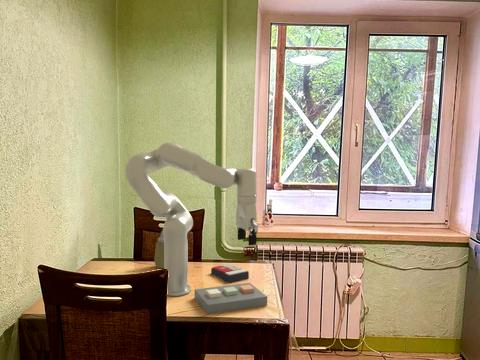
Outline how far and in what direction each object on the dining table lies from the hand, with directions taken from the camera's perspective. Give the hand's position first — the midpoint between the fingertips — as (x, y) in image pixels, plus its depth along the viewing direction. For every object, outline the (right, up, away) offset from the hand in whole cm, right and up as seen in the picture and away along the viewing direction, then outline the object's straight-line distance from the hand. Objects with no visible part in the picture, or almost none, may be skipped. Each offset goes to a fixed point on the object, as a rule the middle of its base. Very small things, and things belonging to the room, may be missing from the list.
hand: (246, 242), depth 164 cm
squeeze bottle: (-40, -18, +36) cm, 57 cm away
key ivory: (-13, -20, -7) cm, 25 cm away
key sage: (-7, -20, -4) cm, 22 cm away
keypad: (-7, -23, -4) cm, 24 cm away
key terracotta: (0, -20, -1) cm, 20 cm away
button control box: (-8, -20, +26) cm, 34 cm away
